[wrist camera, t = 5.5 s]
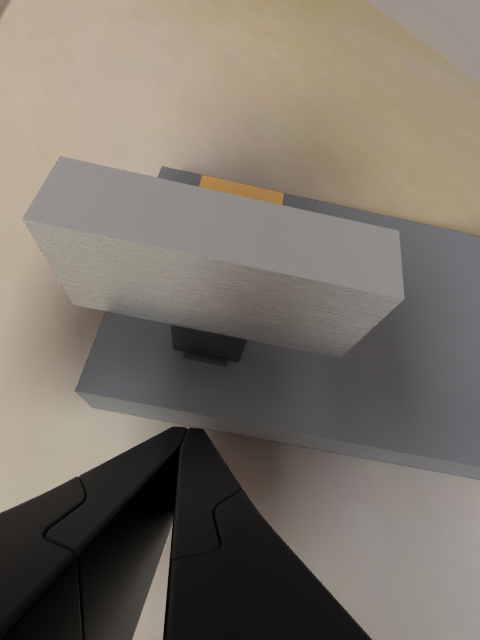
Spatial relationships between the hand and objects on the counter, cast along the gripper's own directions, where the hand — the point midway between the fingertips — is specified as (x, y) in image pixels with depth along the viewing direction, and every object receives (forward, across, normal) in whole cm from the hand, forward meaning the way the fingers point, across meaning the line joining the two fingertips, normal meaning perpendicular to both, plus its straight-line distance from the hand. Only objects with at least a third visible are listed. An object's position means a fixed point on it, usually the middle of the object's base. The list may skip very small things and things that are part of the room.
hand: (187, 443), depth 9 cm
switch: (+8, 0, 0) cm, 8 cm away
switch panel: (+12, +10, -1) cm, 16 cm away
